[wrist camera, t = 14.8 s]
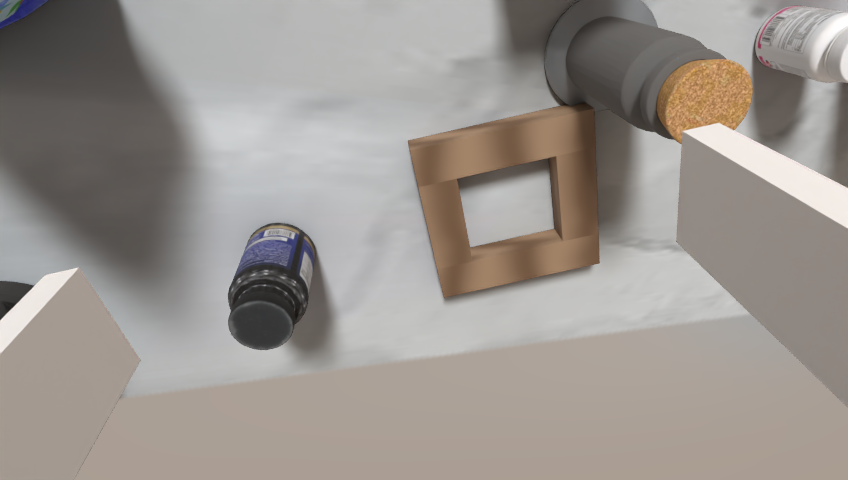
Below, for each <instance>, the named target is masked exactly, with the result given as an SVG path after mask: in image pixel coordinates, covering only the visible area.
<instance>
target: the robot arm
mask: <svg viewBox="0 0 848 480" xmlns="http://www.w3.org/2000/svg"><path fill="white" fill-rule="evenodd" d="M676 242H677V243H678V244H679V245H680V246H681V247H682V248H683V249H684V250H685V251H686V252H687V253H688V254H689V255H690V256H691V257H692V258H693V259H694V260H695V261H697V262H698V263H699V264H700V265H701V266H702V267H703V268H704V269H705V270H706V271H707V272H708V273H709V274H710V275H711V276H712V277H713V278H714V279H715V280H716V281H717V282H718V283H719V284H720V285H721V286H722V287H723V288H724V289H726V290H727V291H728V292H729V293H730V294H731V295H732V296H733V297H734V298H735V299H736V300H737V301H738V302H739V303H740V304H741V305H742V306H743V307H744V308H745V309H746V310H747V311H748V312H749V313H750V314H751V315H752V316H753V317H755V318H756V319H757V320H758V321H759V322H760V323H761V324H762V325H763V326H764V327H765V328H766V329H767V330H768V331H769V332H770V333H771V334H772V335H773V336H774V337H775V338H776V339H777V340H779V342H781V344H783V345H784V346H785V347H786V348H787V349H788V350H789V351H790V352H791V353H792V354H793V355H794V356H795V357H796V358H797V359H798V360H799V361H800V362H801V363H802V364H803V365H805V367H806V368H807V369H808V370H810V371H811V372H812V373H813V374H814V375H815V376H816V377H817V378H818V379H819V380H820V381H821V382H822V383H823V384H824V385H825V386H826V387H827V388H828V389H829V390H830V391H831V392H832V393H833V394H834V395H835V396H836V397H837V398H839V400H841V401H842V402H843V403H844V404H845V405H846V406H847V407H848V188H847V187H845V186H843V185H841V184H839V183H837V182H835V181H833V180H831V179H829V178H827V177H825V176H823V175H821V174H819V173H817V172H815V171H813V170H811V169H809V168H807V167H805V166H803V165H801V164H799V163H797V162H795V161H793V160H791V159H789V158H787V157H785V156H783V155H781V154H780V153H778V152H776V151H774V150H772V149H770V148H768V147H766V146H764V145H762V144H760V143H758V142H756V141H754V140H752V139H750V138H748V137H746V136H744V135H742V134H740V133H738V132H736V131H734V130H732V129H730V128H728V127H726V126H724V125H722V124H720V123H716V124H712V125H707V126H703V127H698V128H694V129H689V130H685V131H682V148H681V166H680V184H679V202H678V220H677V238H676ZM140 361H141V360H140V358H139V357H138V355H137V354H136V352H135V351H134V349H133V348H132V346H131V345H130V343H129V342H128V340H127V339H126V337H125V336H124V334H123V333H122V331H121V330H120V328H119V327H118V325H117V324H116V322H115V321H114V319H113V317H112V316H111V314H110V313H109V311H108V310H107V308H106V307H105V305H104V304H103V302H102V301H101V299H100V298H99V296H98V295H97V293H96V292H95V290H94V289H93V287H92V286H91V284H90V283H89V281H88V280H87V278H86V277H85V275H84V274H83V272H82V271H81V269H80V268H74V269H70V270H66V271H61V272H57V273H52V274H48V275H45V276H44V277H43V278H42V279H41V280H40V281H39V282H38V283H37V284H36V285H35V286H32V285H28V284H23V283H17V282H7V281H0V480H74V478H75V477H76V475H77V473H78V471H79V470H80V468H81V466H82V464H83V463H84V461H85V459H86V457H87V455H88V453H89V452H90V450H91V448H92V446H93V444H94V443H95V441H96V439H97V437H98V436H99V434H100V432H101V430H102V429H103V427H104V425H105V423H106V421H107V420H108V418H109V416H110V414H111V412H112V411H113V409H114V407H115V405H116V403H117V402H118V400H119V398H120V396H121V395H122V393H123V391H124V389H125V387H126V386H127V384H128V382H129V380H130V378H131V377H132V375H133V373H134V371H135V370H136V368H137V366H138V364H139V362H140Z"/></svg>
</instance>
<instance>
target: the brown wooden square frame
mask: <svg viewBox="0 0 848 480" xmlns="http://www.w3.org/2000/svg"><path fill="white" fill-rule="evenodd" d="M408 144H409V149H410V154H411V158H412V162H413V167H414V171H415V175H416V180H417V184H418V188H419V193H420V197H421V201H422V205H423V210H424V214H425V218H426V223H427V227H428V231H429V236H430V240H431V244H432V249H433V253H434V257H435V262H436V266H437V270H438V275H439V279H440V283H441V288H442V292H443V296H444V297H449V296H453V295H458V294H462V293H467V292H472V291H476V290H481V289H485V288H490V287H494V286H499V285H503V284H508V283H512V282H517V281H521V280H526V279H530V278H535V277H540V276H544V275H549V274H553V273H558V272H562V271H567V270H571V269H576V268H580V267H585V266H589V265H594V264H598V263H600V261H599V232H598V203H597V174H596V146H595V117H594V108H593V107H592V106H590V105H589V104H587V103H582V104H577V105H573V106H569V105H568V104H566V105H562V106H558V107H553V108H549V109H544V110H540V111H536V112H531V113H527V114H523V115H518V116H514V117H509V118H505V119H501V120H496V121H492V122H488V123H483V124H479V125H474V126H470V127H466V128H461V129H457V130H453V131H448V132H444V133H439V134H435V135H431V136H426V137H422V138H418V139H413V140H409V141H408ZM546 158H549V168H550V180H551V192H552V203H553V215H554V227H555V229H552V230H547V231H543V232H538V233H534V234H529V235H525V236H520V237H516V238H511V239H507V240H502V241H498V242H494V243H489V244H485V245H480V246H476V247H471V248H470V245H469V240H468V235H467V229H466V224H465V219H464V213H463V208H462V202H461V197H460V192H459V186H458V181H457V178H462V177H466V176H471V175H475V174H479V173H484V172H488V171H493V170H497V169H502V168H506V167H510V166H515V165H519V164H524V163H528V162H532V161H537V160H541V159H546Z"/></svg>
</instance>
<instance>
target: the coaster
mask: <svg viewBox="0 0 848 480" xmlns="http://www.w3.org/2000/svg"><path fill="white" fill-rule="evenodd" d="M605 16H613V17H619V18H623V19H627V20H631V21H635V22H638V23H642V24H646V25H650V26H654V27H657V28H658V26H657V23H656V20H655V18H654V16H653V14H652V12H651V11H650V9H649V8H648V7H647V6H646V5H645V4H644V2H642V1H641V0H579V1H578V2H576V3H575V4H573V5H572V6H571V7H570V8H569V9H568V10H567V11H566V12H565V13H564V14H563V15H562V16H561V17H560V19H559V20H558V21H557V23H556V24H555V26H554V28H553V30H552V32H551V34H550V36H549V39H548V42H547V45H546V50H545V58H544V62H545V72H546V76H547V80H548V82H549V85H550V87H551V88H552V90H553V91H554V93H555V94H556V95H557V96H558V97H559V98H560V99H561V100H562V101H563V102H565V103H566V104H568V105H569V106H573V105H577V104H582V103H587V104H589V105H590V106H592V107H593V108H594V111H602V110H606V109H608V108H606V107H605V106H604V105H602V104H601V103H599V102H598V101H596V100H595V99H593V98H592V97H590V96H589V95H587V94H586V93H585V92H583V91H582V90H580V89H579V88H578V87H577V86H575V84H574V83H573V82H572V81H571V79H570V77H569V75H568V72H567V68H566V55H567V50H568V47H569V45H570V43H571V40H572V39H573V37H574V36H575V34H576V33H577V32H578V31H579V30H580V29H581V28H582V27H583V26H584V25H585V24H587V23H588V22H590V21H592V20H594V19H597V18H600V17H605Z"/></svg>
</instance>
